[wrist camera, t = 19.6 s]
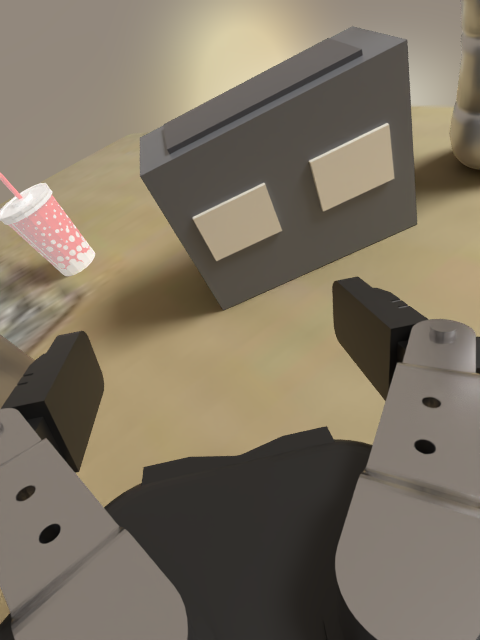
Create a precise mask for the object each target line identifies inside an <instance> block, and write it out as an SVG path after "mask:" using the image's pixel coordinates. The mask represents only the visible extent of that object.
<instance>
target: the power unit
mask: <svg viewBox="0 0 480 640" xmlns="http://www.w3.org/2000/svg"><path fill="white" fill-rule="evenodd" d="M140 177H141V178H142V180H143V182H144V183H145V185H146V187H147V188H148V190H149V191H150V193H151V195H152V196H153V198H154V199H155V201H156V203H157V204H158V206H159V208H160V209H161V211H162V212H163V214H164V216H165V217H166V219H167V220H168V222H169V224H170V225H171V227H172V229H173V230H174V232H175V233H176V235H177V237H178V238H179V240H180V241H181V243H182V245H183V246H184V248H185V250H186V251H187V253H188V254H189V256H190V258H191V259H192V261H193V262H194V264H195V266H196V267H197V269H198V270H199V272H200V274H201V275H202V277H203V279H204V280H205V282H206V283H207V285H208V287H209V288H210V290H211V291H212V293H213V295H214V296H215V298H216V300H217V301H218V303H219V304H220V306H221V308H222V309H223V310H225V309H228V308H230V307H232V306H234V305H237V304H239V303H241V302H243V301H245V300H248V299H250V298H252V297H254V296H257V295H259V294H261V293H263V292H266V291H268V290H270V289H272V288H275V287H277V286H279V285H281V284H284V283H286V282H288V281H290V280H293V279H295V278H297V277H299V276H302V275H304V274H306V273H308V272H311V271H313V270H315V269H317V268H320V267H322V266H324V265H326V264H329V263H331V262H333V261H335V260H338V259H340V258H342V257H344V256H347V255H349V254H351V253H353V252H356V251H358V250H360V249H362V248H365V247H367V246H369V245H371V244H374V243H376V242H378V241H380V240H383V239H385V238H387V237H389V236H391V235H394V234H396V233H398V232H400V231H403V230H405V229H407V228H409V227H412V226H414V225H416V224H417V211H416V193H415V174H414V156H413V137H412V119H411V100H410V82H409V63H408V46H407V40H406V39H402V38H398V37H394V36H390V35H386V34H382V33H378V32H373V31H369V30H365V29H361V28H357V27H350V28H348V29H346V30H344V31H342V32H340V33H339V34H337V35H335V36H333V37H331V38H327V39H325V40H323V41H322V42H320V43H318V44H316V45H314V46H312V47H311V48H308V49H306V50H305V51H303V52H301V53H299V54H297V55H295V56H293V57H291V58H289V59H287V60H286V61H284V62H282V63H280V64H278V65H276V66H274V67H272V68H270V69H268V70H267V71H264V72H263V73H261V74H259V75H257V76H255V77H253V78H251V79H249V80H247V81H245V82H244V83H242V84H240V85H238V86H236V87H234V88H232V89H230V90H228V91H226V92H224V93H223V94H221V95H219V96H217V97H215V98H213V99H211V100H209V101H207V102H206V103H204V104H202V105H200V106H198V107H196V108H194V109H192V110H190V111H188V112H186V113H185V114H183V115H181V116H179V117H177V118H175V119H173V120H171V121H169V122H167V123H166V124H164V125H163V126H162V127H160V128H158V129H156V130H154V131H152V132H150V133H148V134H146V135H144V136H142V137H140Z"/></svg>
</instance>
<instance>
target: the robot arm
mask: <svg viewBox="0 0 480 640" xmlns="http://www.w3.org/2000/svg"><path fill="white" fill-rule="evenodd" d="M332 293H333V317H334V329H335V334H336V337H337V339H338V341H339V343H340V344H341V345H342V347H343V348H344V349H345V350H346V352H347V353H348V354H349V356H350V357H351V358H352V359H353V361H354V362H355V363H356V364H357V366H358V367H359V368H360V369H361V371H362V372H363V373H364V374H365V376H366V377H367V378H368V379H369V381H370V382H371V383H372V385H373V386H374V387H375V388H376V390H377V391H378V392H379V393H380V395H381V396H382V397H383V398H384V400H385V401H386V402H385V405H384V409H383V412H382V416H381V419H380V422H379V426H378V429H377V432H376V436H375V439H374V443H373V445H370V444H366V443H363V442H357V441H351V440H334V439H333V438H332V436H331V434H330V432H329V430H328V428H327V426H326V427H321V428H317V429H312V430H308V431H303V432H299V433H294V434H290V435H285V436H282V437H280V438H277V439H275V440H273V441H271V442H269V443H266V444H264V445H262V446H260V447H257V448H255V449H253V450H251V451H249V452H246V453H244V454H242V455H238V456H213V457H187V458H183V459H178V460H174V461H169V462H165V463H160V464H156V465H151V466H147V467H144V469H143V478H142V483H141V484H139V485H137V486H135V487H133V488H131V489H129V490H127V491H126V492H124V493H123V494H121V495H120V496H118V497H117V498H115V499H114V500H113V501H111V502H110V503H109V504H108V505H107V506H105V507H104V508H103V506H102V505H101V504H100V503H99V501H98V500H97V499H96V498H95V497H94V495H93V494H92V493H91V492H90V490H89V489H88V488H87V487H86V486H85V484H84V483H83V482H82V481H81V480H80V478H79V477H78V476H77V475H76V473H75V472H79V470H80V467H81V464H82V460H83V457H84V454H85V451H86V447H87V444H88V441H89V437H90V434H91V431H92V428H93V424H94V421H95V418H96V415H97V411H98V408H99V405H100V401H101V398H102V395H103V391H104V380H103V375H102V372H101V369H100V366H99V364H98V361H97V359H96V356H95V353H94V351H93V348H92V346H91V343H90V340H89V338H88V336H87V334H86V333H85V332H84V331H79V332H74V333H69V334H64V335H59V336H57V337H56V339H55V340H54V342H53V343H52V345H51V347H50V348H49V350H48V351H47V353H46V354H43V355H41V356H40V357H39V358H38V359H36V360H34V359H32V358H31V357H30V356H28V355H27V354H26V353H24V352H23V351H22V350H20V349H19V348H18V347H16V346H15V345H14V344H12V343H11V342H10V341H8V340H7V339H6V338H4V337H3V336H2V335H0V587H1V590H2V592H3V595H4V597H5V600H6V602H7V605H8V608H9V610H10V614H9V615H8V616H7V617H6V618H5V620H4V621H3V622H2V623H1V624H0V640H480V337H476V334H475V332H474V330H473V329H472V328H470V327H469V326H467V325H465V324H463V323H460V322H457V321H452V320H446V319H431V320H428V319H427V318H426V317H424V316H423V315H421V314H420V313H419V312H417V311H416V310H414V309H413V308H412V307H410V306H408V305H407V304H406V303H405V302H403V301H402V300H401V301H400V299H399V298H398V297H396V296H395V295H393V294H392V293H391V292H388V291H385V290H382V289H379V288H372V287H371V286H369V285H368V284H367V283H365V282H364V281H363V280H362V279H360V278H359V277H353V278H348V279H343V280H338V281H334V283H333V287H332Z"/></svg>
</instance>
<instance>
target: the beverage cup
mask: <svg viewBox="0 0 480 640" xmlns="http://www.w3.org/2000/svg"><path fill="white" fill-rule="evenodd" d="M0 179H1V181H2V182H3V183H4V184H5V185H6V186H7V187H8V188H9V190H10V191H12V193H13V194H14V195H15V197H14V198H13V199H11V200H10V201H9V202H8V203H6V204H5V205H4V206H3V208H2V209H1V210H0V221H2V222H3V223H4V224H6V225H9V226H10V227H11V228H12V229H13V230H15V231H16V232H17V233H18V234H19V235H20V236H21V237H22V238H23V239H24V240H26V241H27V242H28V243H29V244H30V245H31V246H32V247H33V248H34V249H35V250H37V251H38V252H39V253H40V254H41V255H42V256H43V257H44V258H45V259H46V260H48V261H49V262H50V263H51V264H52V265H53V266H54V267H55V268H56V269H57V270H59V271H60V272H61V273H62V274H63V275H64V276H71V275H75V274H77V273H79V272H81V271H82V270H83V269H85V268H86V267H87V266H88V265H89V264H90V263H91V262H92V260H93V259H94V257H95V252H94V251H93V249H92V248H91V247H90V245H89V244H88V243H87V241H86V240H85V239H84V237H83V236H82V235H81V233H80V232H79V231H78V229H77V228H76V227H75V225H74V224H73V223H72V221H71V220H70V218H69V217H68V216H67V214H66V213H65V212H64V210H63V209H62V208H61V206H60V205H59V204H58V202H57V201H56V200H55V198H54V197H53V196H52V191H51V189H49V186H48V185H47V184H46V183H40V184H37V185H34V186H32V187H30V188H28V189H26V190H25V191H23V192H21V193H20V194H19V193H18V191H17V190H16V189H15V188H14V187H13V186H12V185H11V184H10V183H9V182H8V180H7V179H6V178H5V177H4V176H3V175H2V174H1V173H0Z"/></svg>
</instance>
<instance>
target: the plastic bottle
mask: <svg viewBox="0 0 480 640" xmlns="http://www.w3.org/2000/svg"><path fill="white" fill-rule="evenodd" d="M461 28H462V29H463V33H462V35H461V43H462V54H461V63H460V72H459V81H458V90H457V99H456V100H457V101H456V103H455V106H454V110H453V114H452V120H451V126H450V133H449V134H450V140H451V145H452V150H453V154H454V155H455V157H456V158H457V159H458V160H459V161H460V162H461V163H462V164H464V165H465V166H467V167H470V168H474V169H479V170H480V0H461Z"/></svg>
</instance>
